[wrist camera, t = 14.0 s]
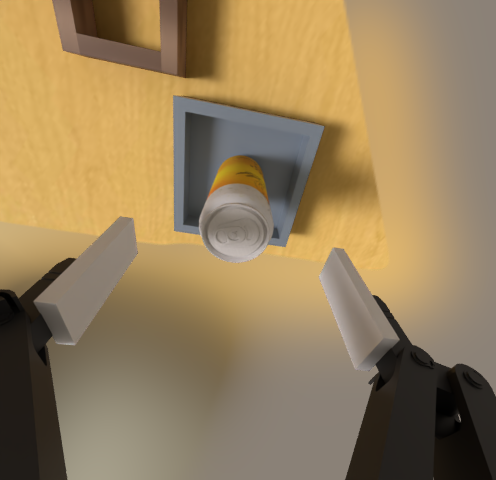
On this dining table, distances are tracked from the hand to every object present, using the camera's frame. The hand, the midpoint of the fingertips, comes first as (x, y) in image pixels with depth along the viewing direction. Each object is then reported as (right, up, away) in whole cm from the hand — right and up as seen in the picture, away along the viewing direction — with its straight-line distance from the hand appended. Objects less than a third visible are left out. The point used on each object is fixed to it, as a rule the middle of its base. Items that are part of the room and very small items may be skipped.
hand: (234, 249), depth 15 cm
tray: (0, +10, +16) cm, 18 cm away
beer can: (0, +9, +15) cm, 18 cm away
